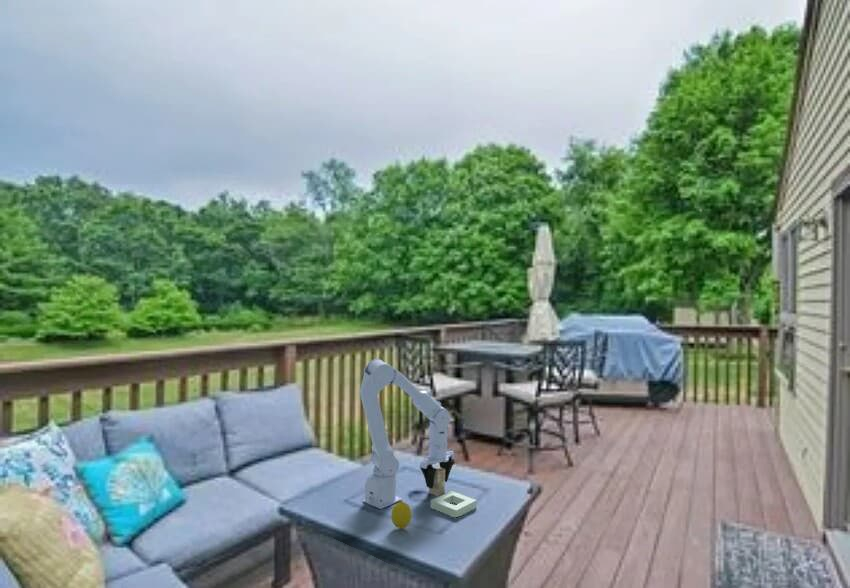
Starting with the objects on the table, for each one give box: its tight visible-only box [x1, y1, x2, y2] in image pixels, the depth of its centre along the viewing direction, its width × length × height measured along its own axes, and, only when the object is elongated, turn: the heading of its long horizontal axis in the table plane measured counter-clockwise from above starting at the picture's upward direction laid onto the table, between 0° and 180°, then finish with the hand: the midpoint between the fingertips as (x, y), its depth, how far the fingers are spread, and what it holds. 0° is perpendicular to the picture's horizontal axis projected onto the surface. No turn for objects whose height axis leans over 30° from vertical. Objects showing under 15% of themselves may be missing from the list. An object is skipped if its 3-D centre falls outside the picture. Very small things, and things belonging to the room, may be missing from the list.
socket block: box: [430, 490, 478, 518], centre depth 178 cm, size 10×10×2 cm
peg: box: [428, 465, 446, 497], centre depth 189 cm, size 4×4×8 cm
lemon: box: [391, 500, 412, 530], centre depth 164 cm, size 6×6×8 cm
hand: (437, 484), depth 189 cm, fingers open, 7 cm apart
